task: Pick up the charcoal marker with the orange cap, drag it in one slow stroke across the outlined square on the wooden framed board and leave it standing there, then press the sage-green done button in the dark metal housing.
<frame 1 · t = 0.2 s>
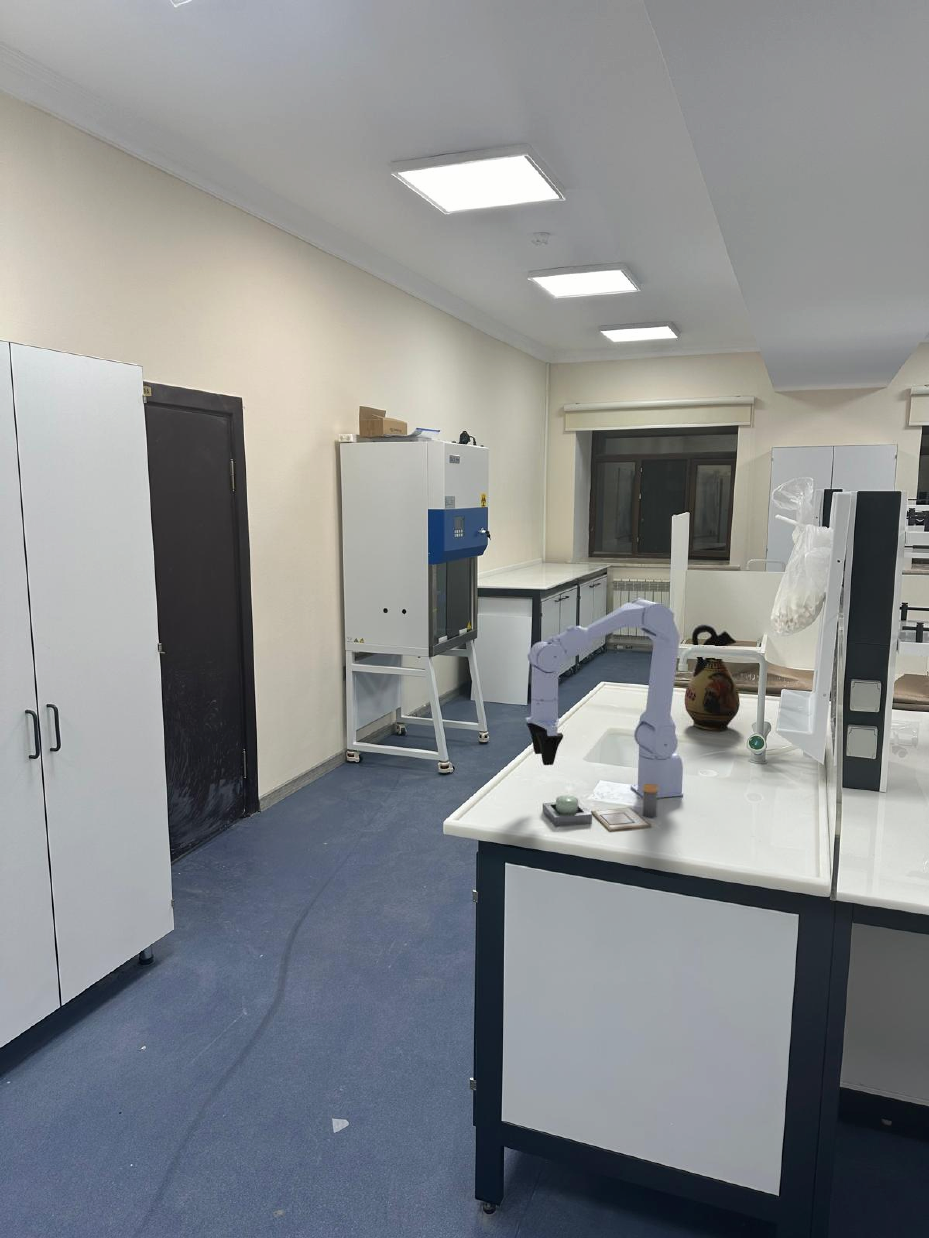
hand: (543, 758, 177), 10 cm above the worktop, fingers open, 7 cm apart
wooden framed board: (620, 819, 169), on the worktop
marker: (649, 815, 172), on the worktop
done button: (567, 805, 170), point 3 cm above the worktop, slide at 0.0 cm
button housing: (566, 817, 170), on the worktop
ceramic jug: (707, 726, 239), on the worktop
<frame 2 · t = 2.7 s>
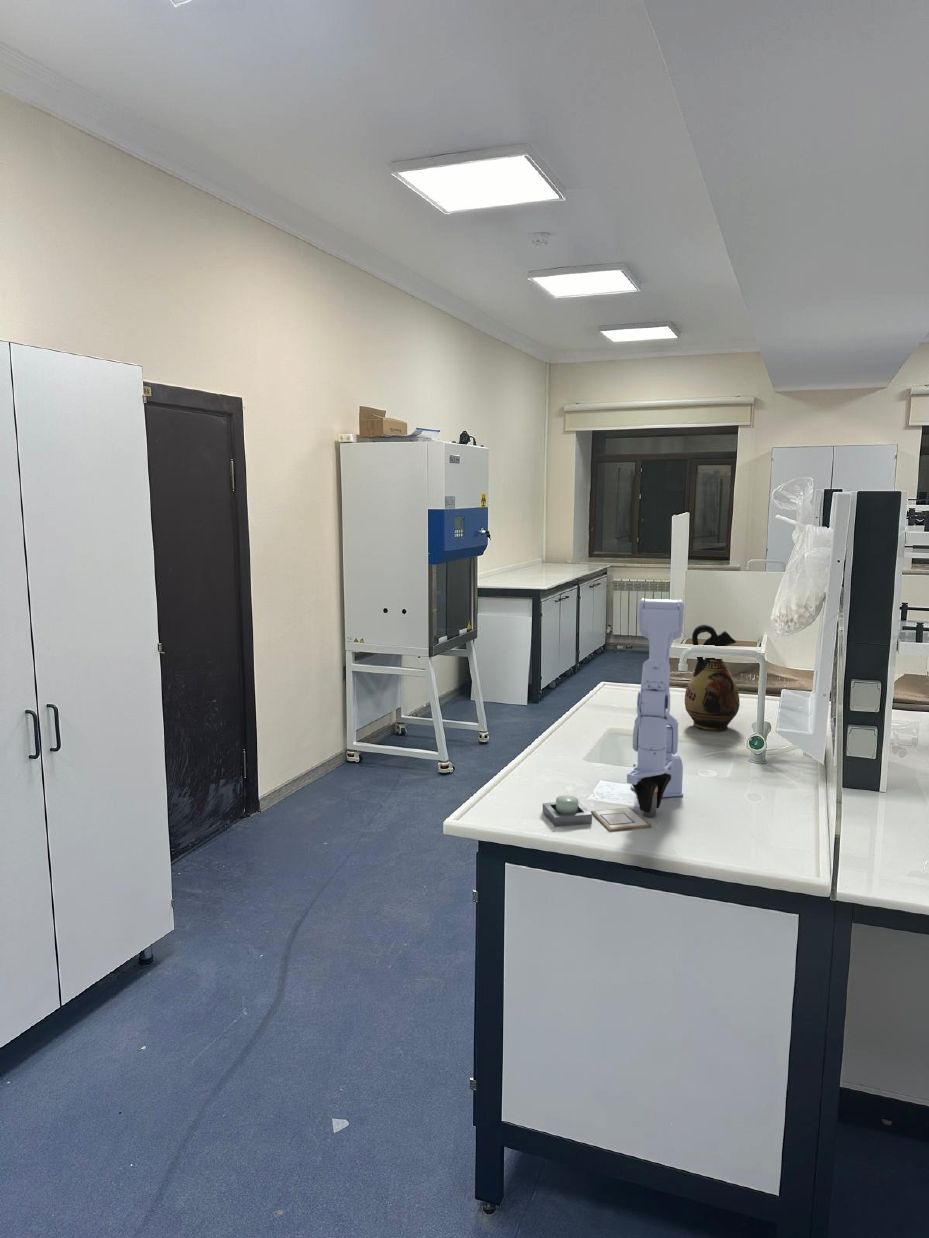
hand: (649, 808, 171), 1 cm above the worktop, fingers closed on marker, 3 cm apart
marker: (649, 815, 172), on the worktop, touching gripper
everything else where it was.
when the fingers open (2 cm above the worktop, at t = 5.9 s): marker stays where it is, resting on wooden framed board.
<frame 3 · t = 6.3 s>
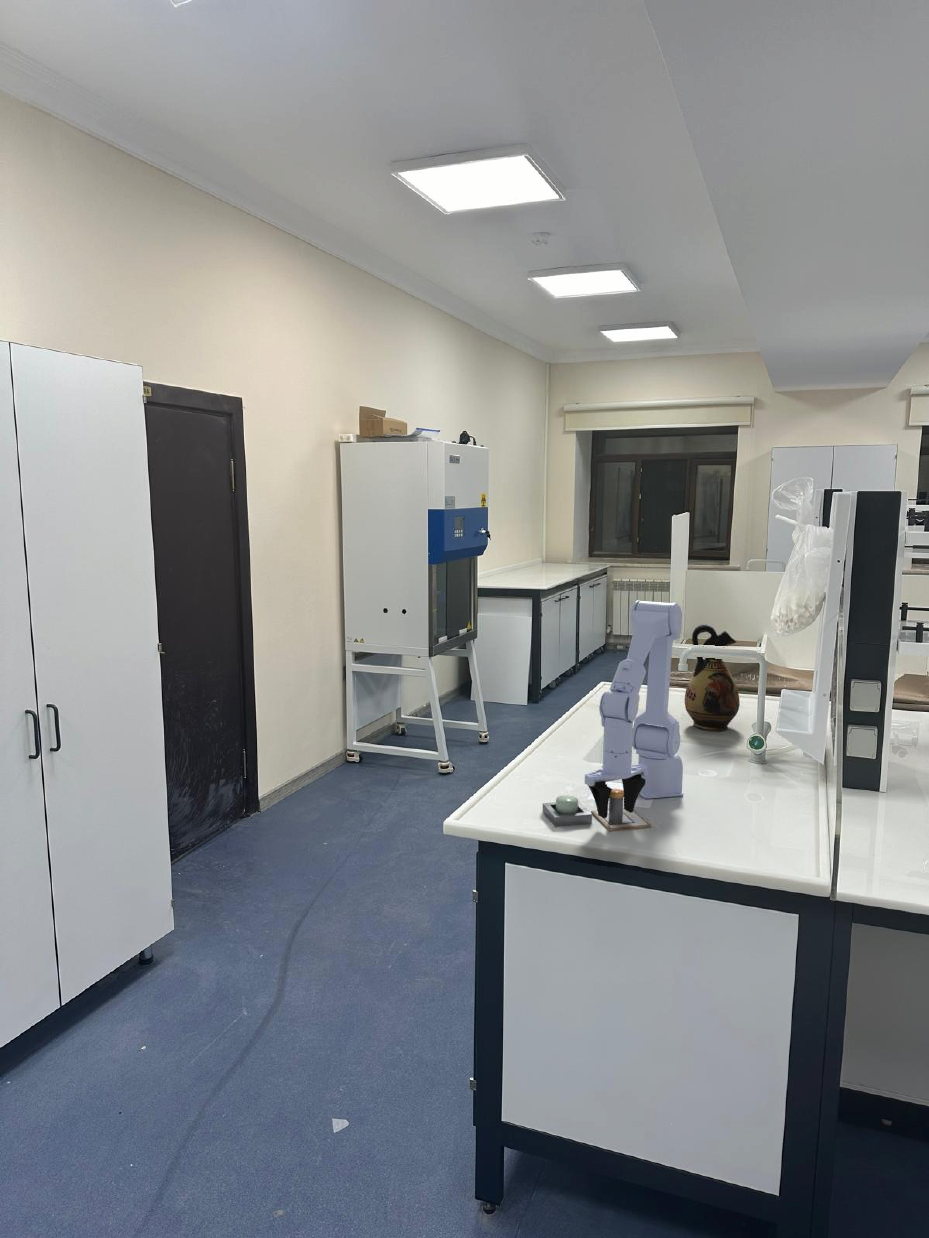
hand: (615, 813, 166), 2 cm above the worktop, fingers open, 6 cm apart
marker: (615, 821, 167), point 1 cm above the worktop, touching wooden framed board
everything else where it was.
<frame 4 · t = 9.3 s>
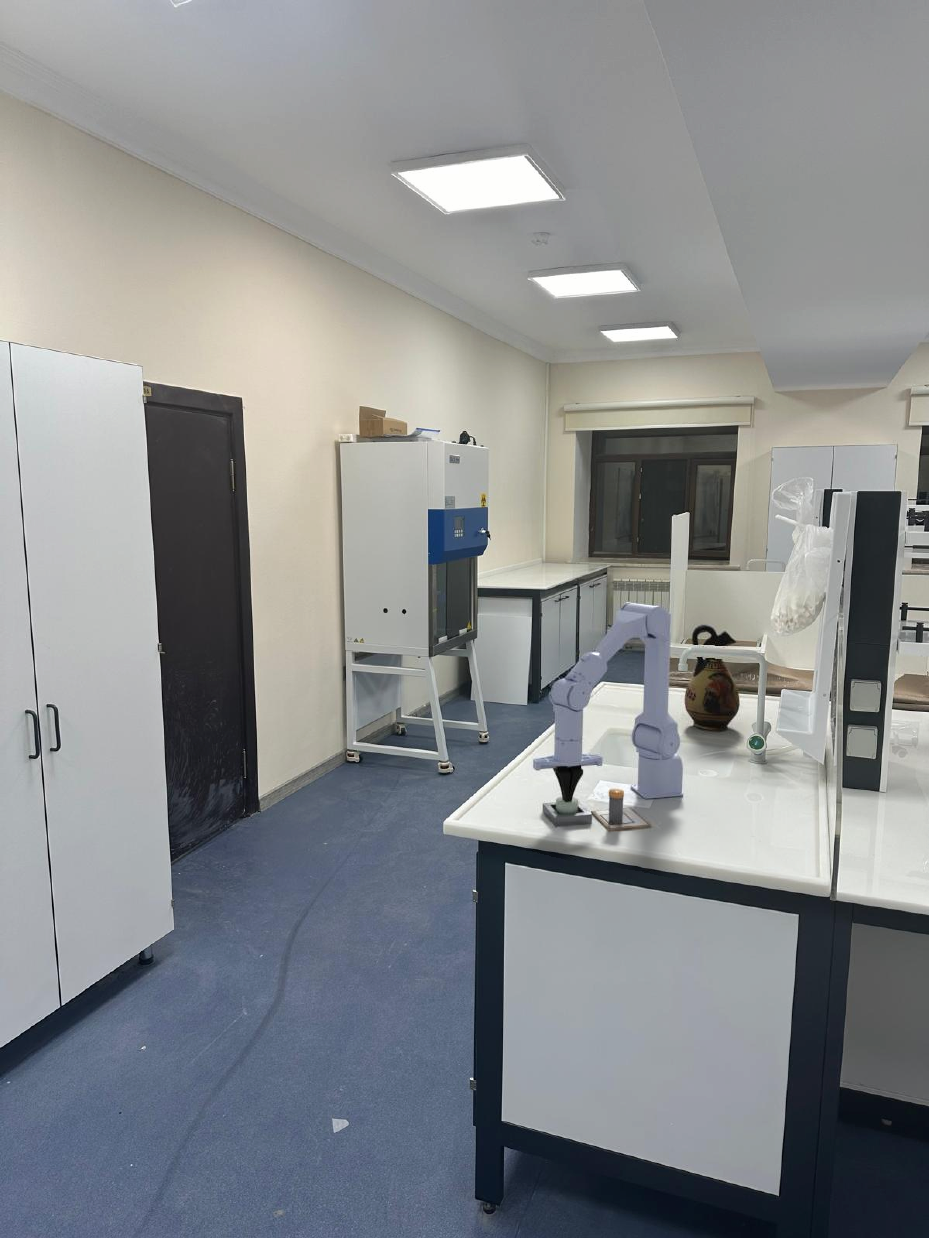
hand: (567, 800, 170), 4 cm above the worktop, fingers closed, pressing on done button
done button: (567, 806, 170), point 3 cm above the worktop, slide at 0.2 cm, touching gripper
everything else where it was.
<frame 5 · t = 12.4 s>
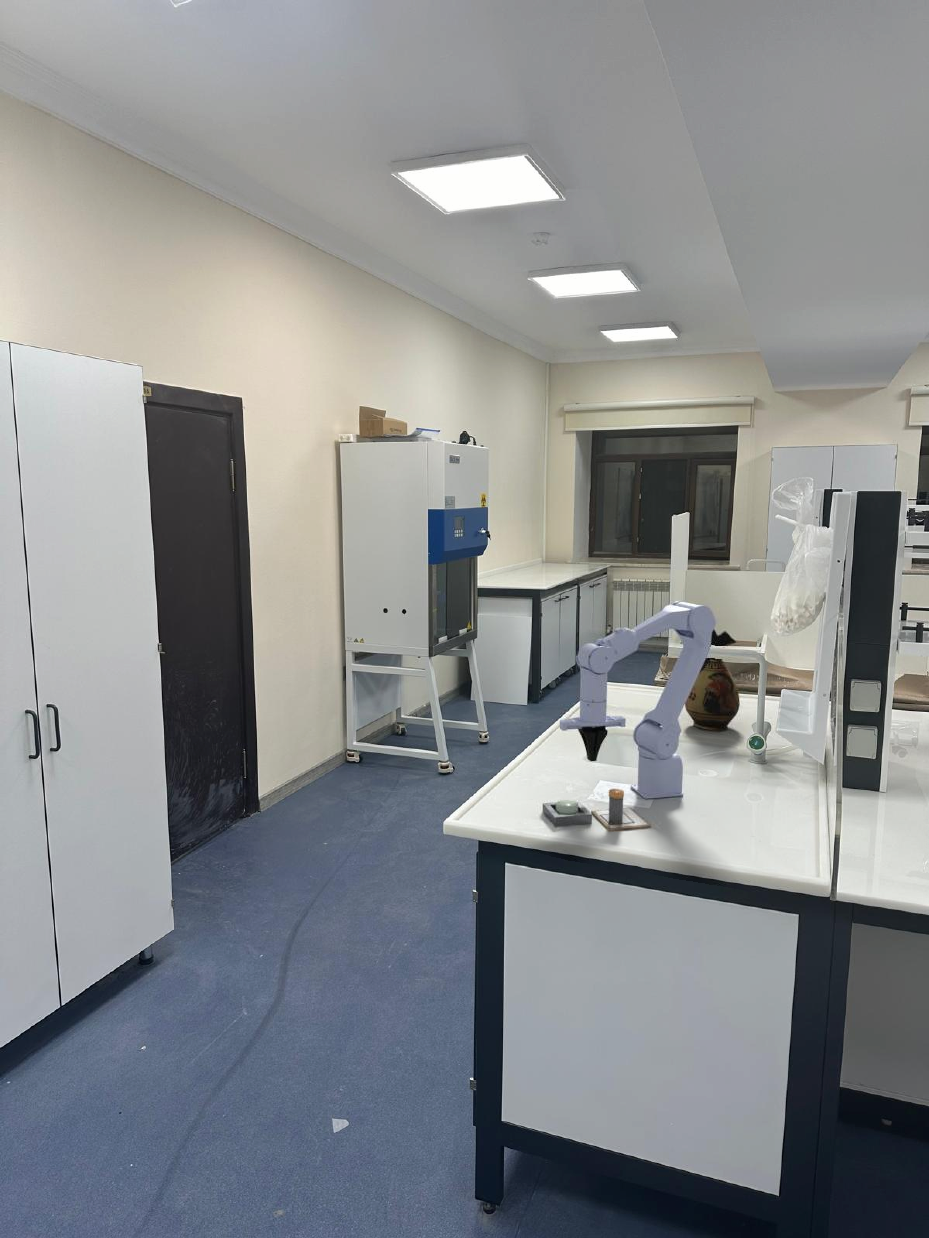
hand: (591, 759, 178), 9 cm above the worktop, fingers closed
done button: (566, 810, 170), point 2 cm above the worktop, slide at 1.0 cm
everything else where it was.
at the end: marker inside the target area (1.5 cm from its centre), point 0.6 cm above the worktop; marker tilted 0°; done button slide at 1.0 cm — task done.
